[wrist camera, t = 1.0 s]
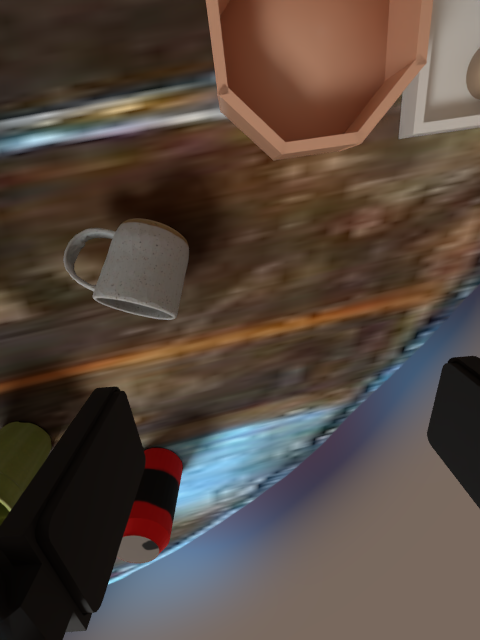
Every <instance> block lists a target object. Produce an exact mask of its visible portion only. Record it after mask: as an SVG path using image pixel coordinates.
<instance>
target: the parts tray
mask: <svg viewBox="0 0 480 640" xmlns="http://www.w3.org/2000/svg"><path fill="white" fill-rule="evenodd" d="M479 48H480V0H433V7H432V16H431V26H430V35H429V44H428V53H427V63H426V65H424V67H423V68H422V69H421V70H420V71H419V73H418V74H417V75H416V76H415V78H414V79H413V80H412V81H411V83H410V84H409V85H408V86H407V87H406V89H405V90H404V91H403V94H402V106H401V117H400V129H399V139H403V138H410V137H417V136H424V135H431V134H438V133H445V132H452V131H459V130H466V129H473V128H480V100H479V99H476V98H474V97H473V96H472V95H471V94H470V92H469V91H468V88H467V84H466V74H467V69H468V66H469V63H470V61H471V59H472V57H473V56H474V54H475V53H476V51H477V50H478V49H479Z"/></svg>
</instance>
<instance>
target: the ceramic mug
mask: <svg viewBox="0 0 480 640" xmlns="http://www.w3.org/2000/svg"><path fill="white" fill-rule="evenodd" d="M93 238H110V239H112V242H111V245H110V248H109V252H108V255H107V258H106V261H105V263H104V265H103V268H102V271H101V274H100V277H99V279H98V282H97V284H96V285H91V284H89V283H87V282H85V281H84V280H82V279H81V278H79V277H78V276H77V275H76V273H75V271H74V263H75V261H76V259H77V256H78V254H79V252H80V250H81V249H82V248H83V247H84V246H85V243H84V242H86V241H88V240H90V239H93ZM188 259H189V246H188V243H187V241H186V239H185V238H184V237H183V236H182V235H181V234H180V233H179V232H178V231H176V230H174V229H173V228H171V227H169V226H167V225H165V224H162V223H160V222H156V221H152V220H149V219H142V218H134V219H129V220H126V221H124V222H122V223H121V225H120V226H119V228H118V229H117V231H116V232H114V231H112V230H108V229H102V228H90V229H86V230H84V231H82V232H80V233H78V234H77V235H75V236H74V237H73V238H72V239H71V241H70V242H69V243H68V245H67V247H66V250H65V253H64V265H65V268H66V270H67V271H68V273H69V274H70V276H71V277H72V278H73V279H74V280H75V281H77V282H78V283H79V284H81V285H82V286H84V287H86V288H88V289H89V290H91V291H94V293H93V298H94V300H96V301H97V302H99V303H101V304H103V305H106V306H109V307H111V308H115V309H118V310H121V311H124V312H128V313H132V314H135V315H140V316H145V317H150V318H155V319H164V320H167V319H168V320H169V319H170V320H171V319H175V318H176V317H177V314H178V309H179V303H180V298H181V294H182V289H183V284H184V278H185V274H186V269H187V265H188Z"/></svg>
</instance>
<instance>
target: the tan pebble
mask: <svg viewBox="0 0 480 640" xmlns="http://www.w3.org/2000/svg"><path fill="white" fill-rule="evenodd" d="M466 84H467V88H468V91H469V92H470V94H471V95H472V96H473V97H474V98H476V99H479V100H480V48H479V49H478V50H477V51H476V53H475V54H474V56H473V57H472V59H471V61H470V63H469V66H468V69H467V74H466Z"/></svg>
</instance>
